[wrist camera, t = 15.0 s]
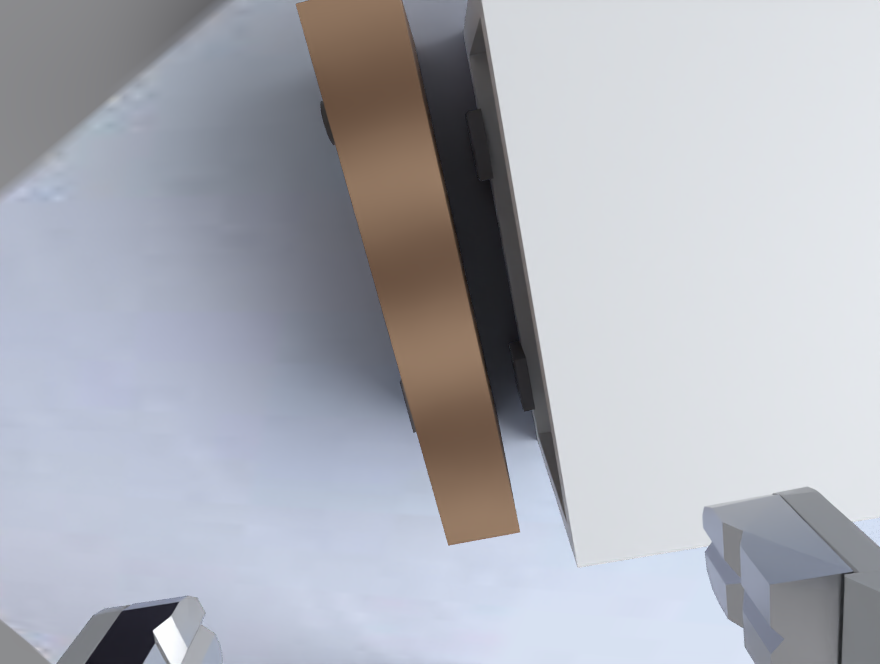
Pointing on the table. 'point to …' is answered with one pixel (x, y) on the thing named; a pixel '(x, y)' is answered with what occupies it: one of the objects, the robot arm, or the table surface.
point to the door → (413, 253)
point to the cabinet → (687, 252)
